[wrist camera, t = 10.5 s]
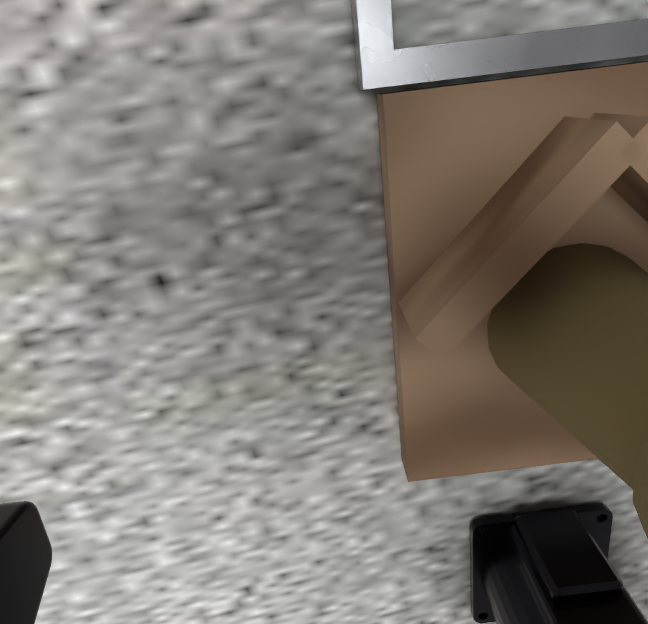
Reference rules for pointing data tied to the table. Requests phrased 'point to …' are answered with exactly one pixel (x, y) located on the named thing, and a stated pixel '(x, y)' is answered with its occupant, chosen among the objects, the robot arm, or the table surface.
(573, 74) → the dog kennel
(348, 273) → the table surface
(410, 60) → the steel collar
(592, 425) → the cork
